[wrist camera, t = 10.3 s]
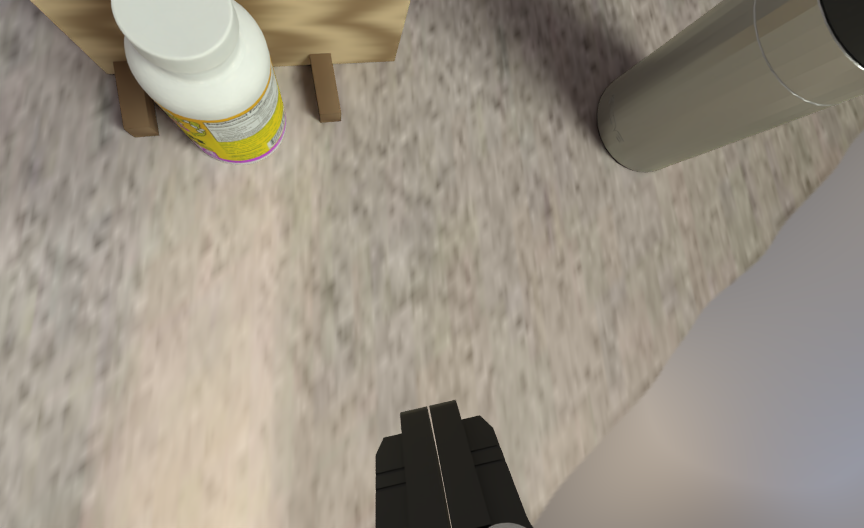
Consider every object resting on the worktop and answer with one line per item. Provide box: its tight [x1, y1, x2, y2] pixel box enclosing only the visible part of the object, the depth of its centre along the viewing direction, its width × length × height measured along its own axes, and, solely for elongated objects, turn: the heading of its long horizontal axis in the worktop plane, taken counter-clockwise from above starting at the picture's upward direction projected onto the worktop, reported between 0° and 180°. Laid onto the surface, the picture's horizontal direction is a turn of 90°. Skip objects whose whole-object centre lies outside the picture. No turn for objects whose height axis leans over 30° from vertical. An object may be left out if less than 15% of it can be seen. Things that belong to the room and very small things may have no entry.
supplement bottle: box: [111, 0, 286, 165], centre depth 24 cm, size 7×7×13 cm
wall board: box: [30, 0, 410, 137], centre depth 26 cm, size 20×6×9 cm, turn 100°
